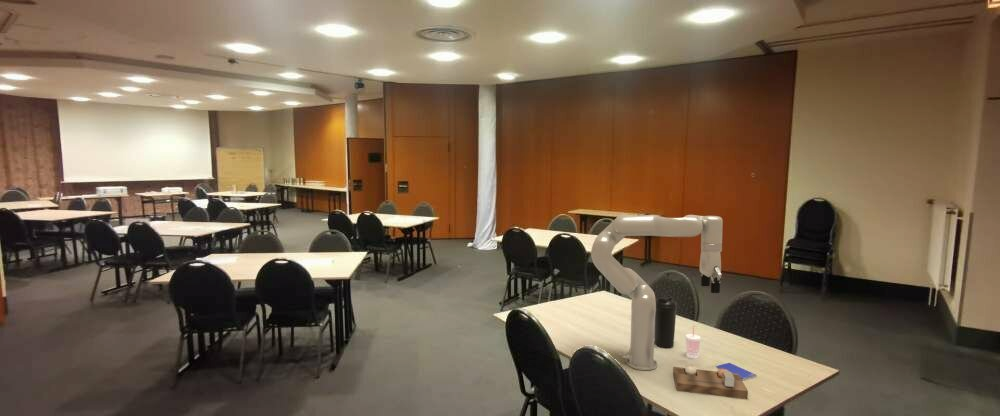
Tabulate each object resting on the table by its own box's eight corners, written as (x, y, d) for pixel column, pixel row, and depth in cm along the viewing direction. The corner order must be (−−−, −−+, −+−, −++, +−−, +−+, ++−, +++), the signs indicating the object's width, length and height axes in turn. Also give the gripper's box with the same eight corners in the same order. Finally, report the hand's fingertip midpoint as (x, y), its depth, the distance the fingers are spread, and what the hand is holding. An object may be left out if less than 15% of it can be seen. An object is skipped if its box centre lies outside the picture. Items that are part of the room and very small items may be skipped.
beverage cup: (702, 358, 201) (704, 327, 200) (691, 360, 199) (693, 328, 198) (692, 352, 207) (694, 322, 205) (681, 354, 205) (683, 324, 203)
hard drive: (756, 374, 184) (730, 362, 195) (742, 378, 180) (716, 365, 191) (756, 378, 184) (729, 365, 195) (742, 382, 180) (716, 369, 192)
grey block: (724, 386, 169) (725, 377, 169) (722, 379, 174) (722, 371, 174) (733, 387, 168) (734, 378, 168) (730, 380, 173) (731, 372, 173)
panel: (677, 390, 173) (677, 382, 172) (673, 373, 186) (673, 366, 186) (747, 399, 167) (748, 391, 166) (738, 381, 180) (738, 373, 180)
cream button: (685, 376, 180) (686, 369, 179) (684, 371, 184) (684, 364, 183) (696, 377, 179) (697, 370, 178) (695, 373, 183) (695, 365, 182)
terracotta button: (719, 380, 177) (719, 372, 176) (716, 375, 181) (717, 368, 180) (730, 381, 176) (730, 374, 175) (728, 376, 180) (728, 369, 179)
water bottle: (679, 344, 216) (681, 296, 213) (670, 351, 208) (672, 301, 206) (658, 338, 222) (659, 292, 220) (648, 345, 215) (650, 297, 213)
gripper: (693, 243, 191) (692, 283, 193) (710, 251, 174) (709, 295, 176) (712, 243, 191) (711, 283, 192) (730, 251, 173) (729, 295, 175)
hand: (710, 289), depth 184 cm, fingers open, 9 cm apart
